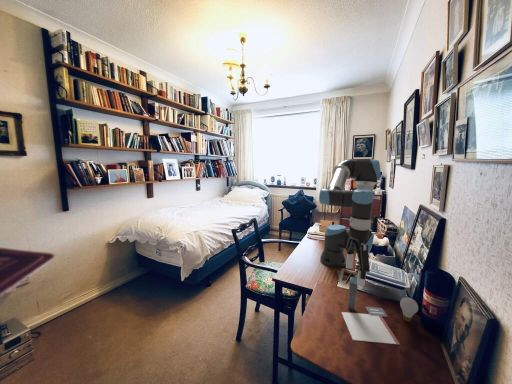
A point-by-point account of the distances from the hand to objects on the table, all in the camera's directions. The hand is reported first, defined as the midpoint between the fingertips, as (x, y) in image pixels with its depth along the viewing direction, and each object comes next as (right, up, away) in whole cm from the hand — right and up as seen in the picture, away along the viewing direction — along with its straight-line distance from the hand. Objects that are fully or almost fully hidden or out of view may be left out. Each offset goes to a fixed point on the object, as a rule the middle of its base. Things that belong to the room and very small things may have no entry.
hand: (354, 276), depth 91 cm
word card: (+10, -16, +1) cm, 18 cm away
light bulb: (+19, -17, -4) cm, 26 cm away
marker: (0, -15, +3) cm, 15 cm away
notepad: (+2, -17, -7) cm, 19 cm away
